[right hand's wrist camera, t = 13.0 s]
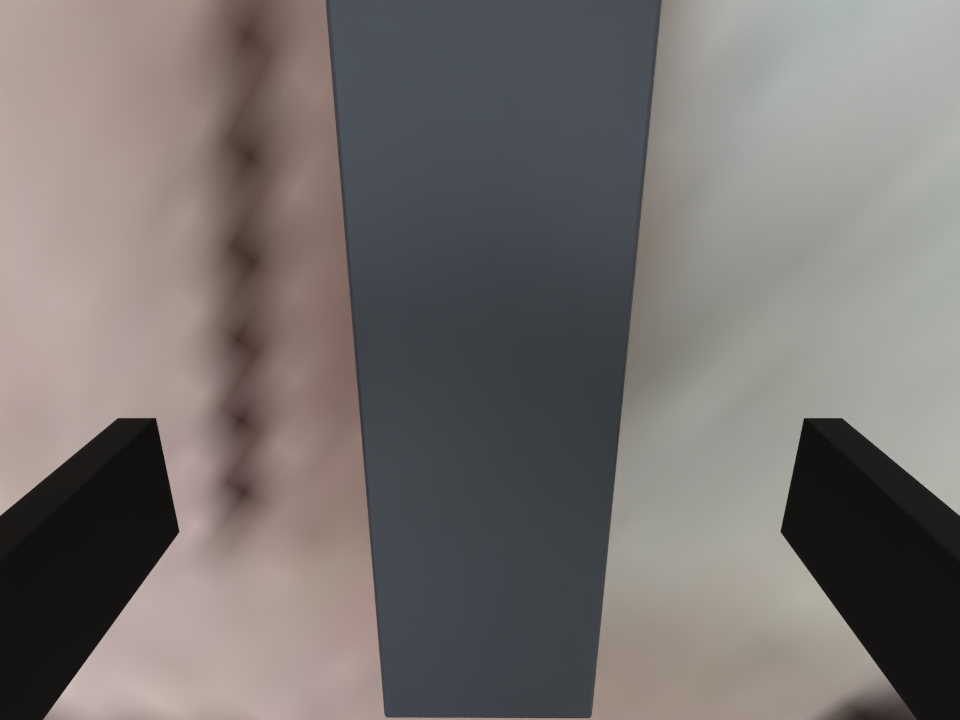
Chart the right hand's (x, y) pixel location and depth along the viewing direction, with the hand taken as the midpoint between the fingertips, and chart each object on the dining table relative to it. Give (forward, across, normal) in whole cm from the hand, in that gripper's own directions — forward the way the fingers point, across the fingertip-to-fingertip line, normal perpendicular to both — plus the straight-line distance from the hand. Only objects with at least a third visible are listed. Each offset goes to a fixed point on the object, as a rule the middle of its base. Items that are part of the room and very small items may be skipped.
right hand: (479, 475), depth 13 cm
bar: (+6, 0, -21) cm, 22 cm away
